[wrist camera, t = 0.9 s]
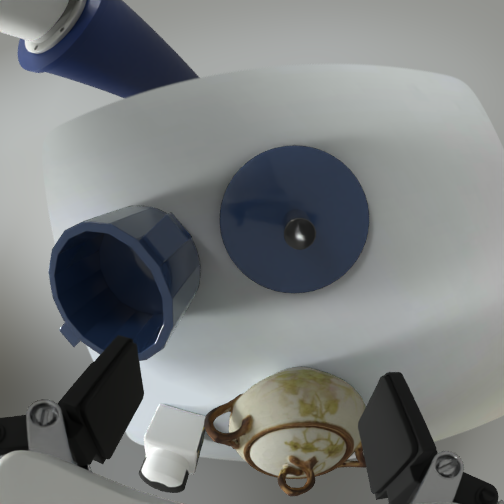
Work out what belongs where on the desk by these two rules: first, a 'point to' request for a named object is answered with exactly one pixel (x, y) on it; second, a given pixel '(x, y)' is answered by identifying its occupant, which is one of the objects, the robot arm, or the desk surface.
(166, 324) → the pot
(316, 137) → the desk surface
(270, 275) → the lid
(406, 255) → the desk surface
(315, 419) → the sugar bowl
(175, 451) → the medicine bottle
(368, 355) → the desk surface
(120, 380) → the robot arm
